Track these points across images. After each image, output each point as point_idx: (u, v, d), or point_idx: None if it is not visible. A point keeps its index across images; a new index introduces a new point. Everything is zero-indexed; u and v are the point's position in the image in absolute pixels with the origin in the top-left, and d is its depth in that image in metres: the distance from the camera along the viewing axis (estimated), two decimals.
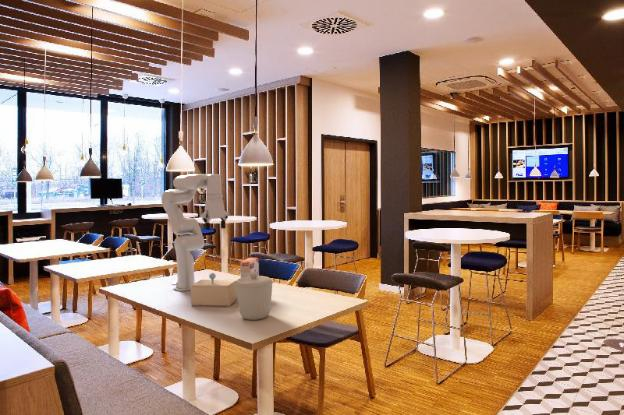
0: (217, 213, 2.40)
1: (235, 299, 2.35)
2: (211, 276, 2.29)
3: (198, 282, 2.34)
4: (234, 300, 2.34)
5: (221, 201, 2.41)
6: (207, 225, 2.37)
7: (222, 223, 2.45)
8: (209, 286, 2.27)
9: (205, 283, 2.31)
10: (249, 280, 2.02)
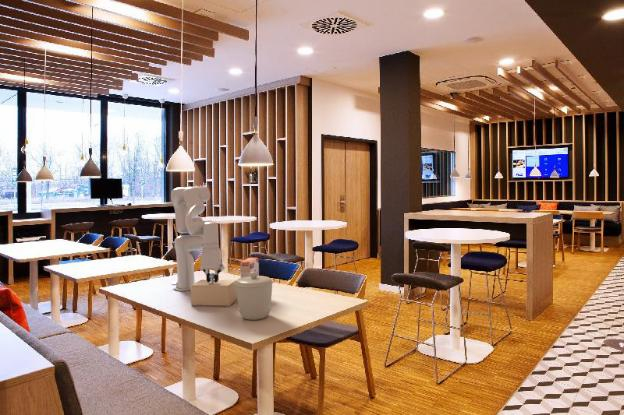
0: None
1: (235, 299, 2.35)
2: (211, 276, 2.29)
3: (198, 282, 2.34)
4: (234, 300, 2.34)
5: None
6: None
7: None
8: (209, 286, 2.27)
9: (205, 283, 2.31)
10: (249, 280, 2.02)
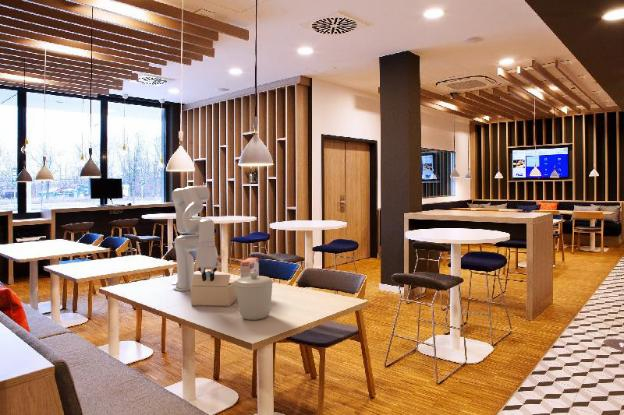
0: None
1: (235, 299, 2.35)
2: (208, 276, 2.25)
3: (196, 274, 2.32)
4: (234, 300, 2.34)
5: None
6: None
7: (205, 275, 2.26)
8: (209, 285, 2.27)
9: None
10: (249, 280, 2.02)
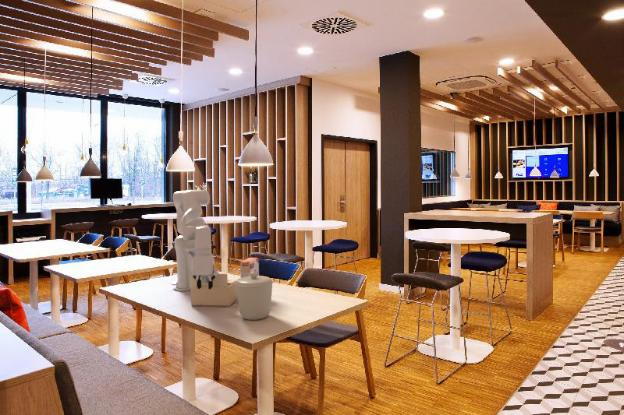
0: None
1: (235, 299, 2.35)
2: (205, 282, 2.22)
3: None
4: (234, 300, 2.34)
5: None
6: None
7: (200, 283, 2.22)
8: None
9: (201, 278, 2.26)
10: (249, 280, 2.02)
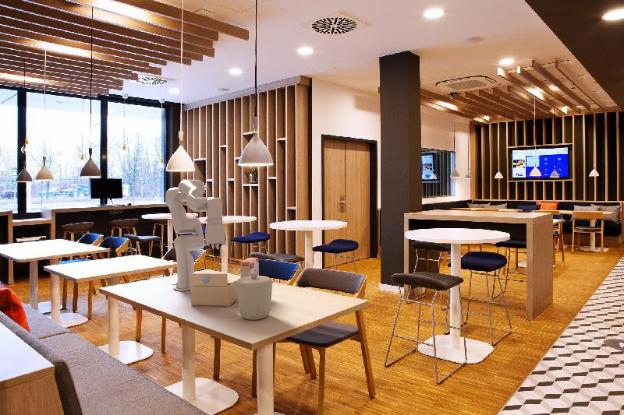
0: None
1: (235, 299, 2.35)
2: (205, 282, 2.22)
3: (192, 274, 2.27)
4: (234, 300, 2.34)
5: None
6: None
7: None
8: None
9: (201, 278, 2.26)
10: (249, 280, 2.02)
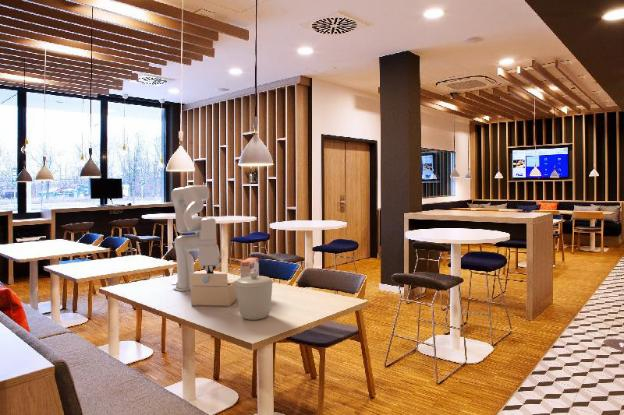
0: None
1: (235, 299, 2.35)
2: (205, 282, 2.22)
3: (192, 274, 2.27)
4: (234, 300, 2.34)
5: None
6: None
7: (210, 273, 2.28)
8: None
9: (201, 278, 2.26)
10: (249, 280, 2.02)
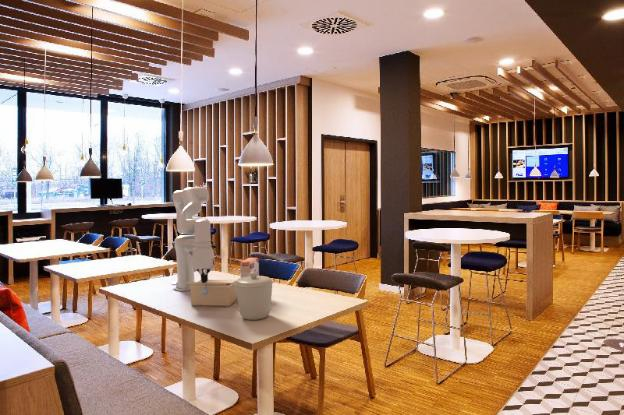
0: None
1: (235, 299, 2.35)
2: None
3: (188, 283, 2.22)
4: (234, 300, 2.34)
5: None
6: None
7: None
8: None
9: (199, 284, 2.24)
10: (249, 280, 2.02)
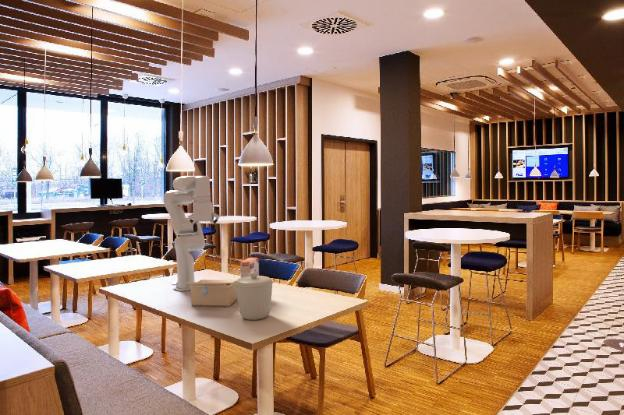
0: None
1: (235, 299, 2.35)
2: None
3: (188, 283, 2.22)
4: (234, 300, 2.34)
5: None
6: None
7: (196, 226, 2.40)
8: None
9: (199, 284, 2.24)
10: (249, 280, 2.02)
